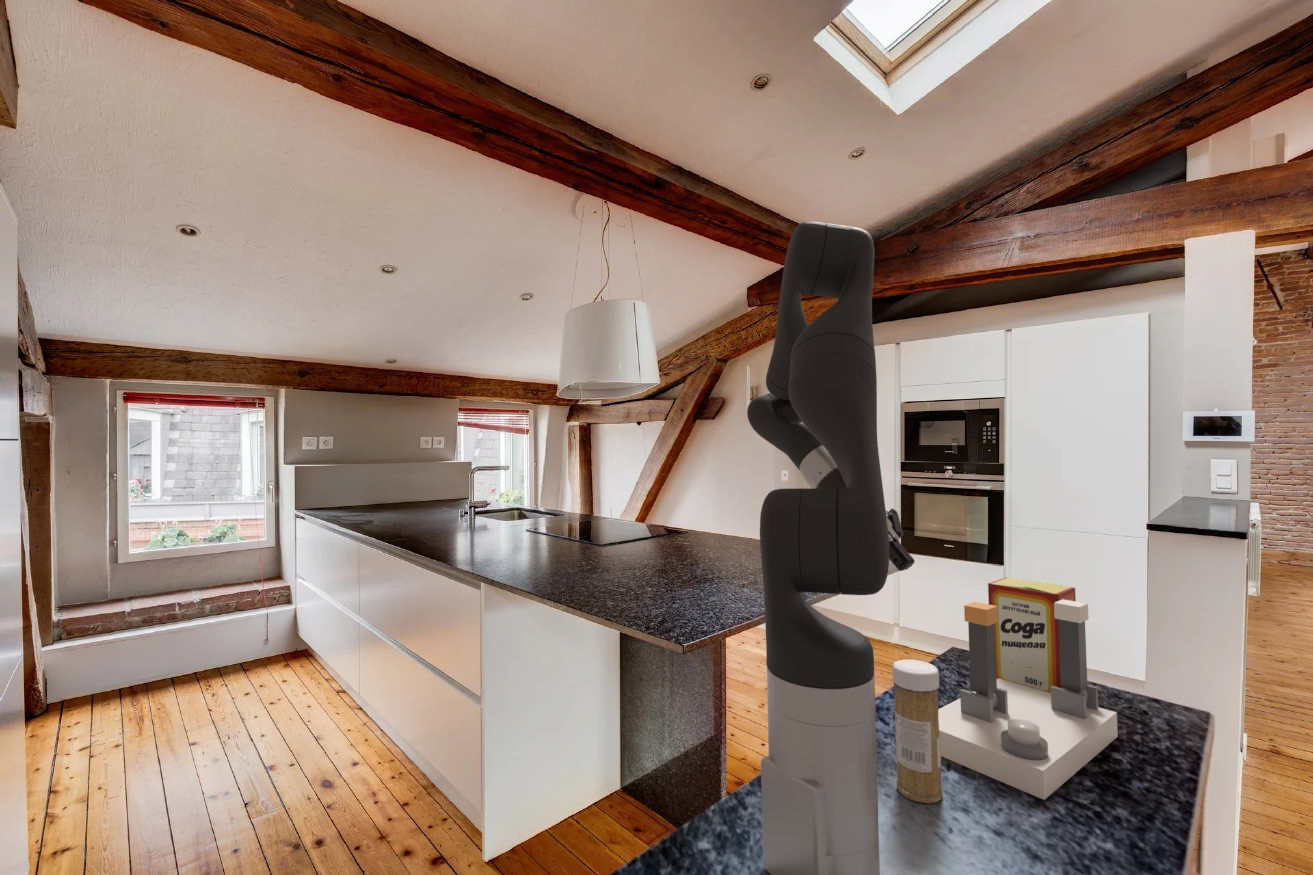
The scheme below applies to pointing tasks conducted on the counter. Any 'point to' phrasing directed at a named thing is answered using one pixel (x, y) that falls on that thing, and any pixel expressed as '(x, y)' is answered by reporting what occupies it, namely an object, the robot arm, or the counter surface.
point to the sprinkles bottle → (917, 730)
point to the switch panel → (1052, 729)
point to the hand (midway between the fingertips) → (908, 566)
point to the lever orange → (982, 648)
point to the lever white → (1072, 644)
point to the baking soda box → (1028, 631)
